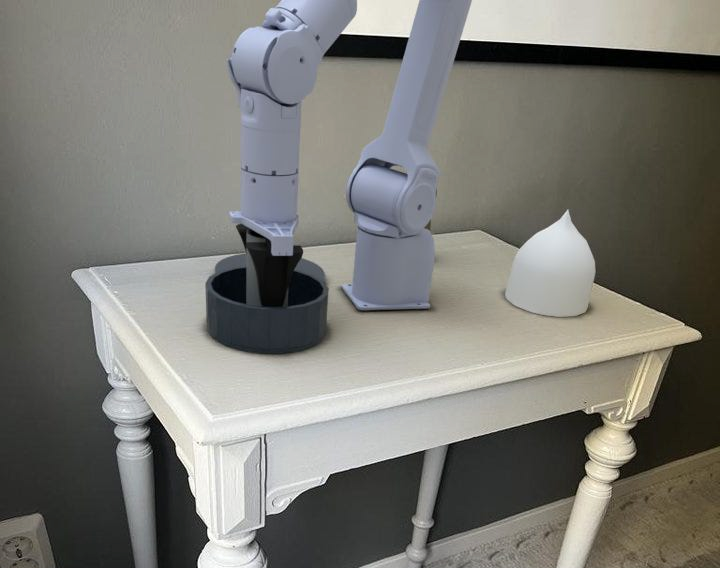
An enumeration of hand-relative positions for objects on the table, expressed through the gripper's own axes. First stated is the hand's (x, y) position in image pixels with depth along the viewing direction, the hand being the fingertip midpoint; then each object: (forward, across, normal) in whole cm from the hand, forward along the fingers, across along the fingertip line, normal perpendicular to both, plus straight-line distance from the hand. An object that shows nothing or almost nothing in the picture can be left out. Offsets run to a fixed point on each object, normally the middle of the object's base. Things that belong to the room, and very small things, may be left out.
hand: (267, 300), depth 81 cm
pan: (+3, 0, 0) cm, 3 cm away
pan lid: (+3, -16, +4) cm, 17 cm away
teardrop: (+3, -6, +39) cm, 40 cm away
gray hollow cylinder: (+3, 0, 0) cm, 3 cm away
